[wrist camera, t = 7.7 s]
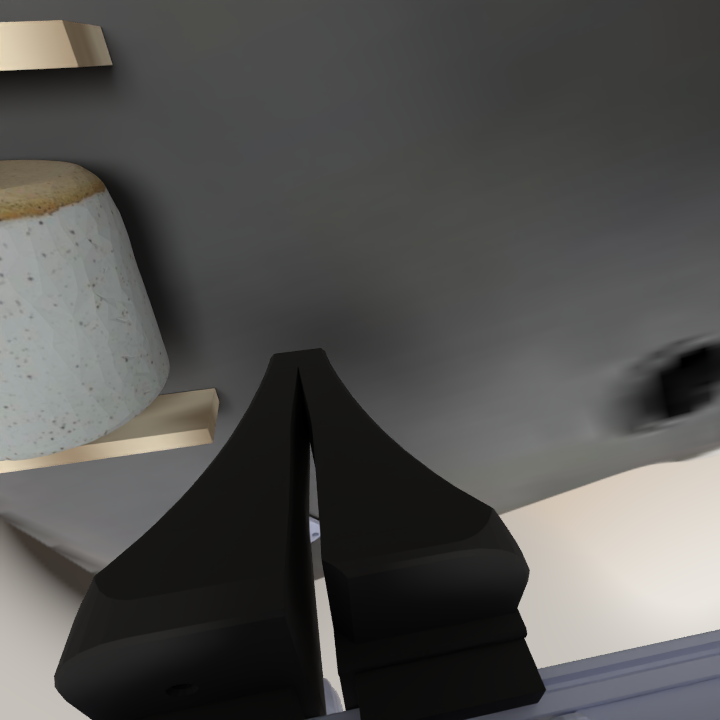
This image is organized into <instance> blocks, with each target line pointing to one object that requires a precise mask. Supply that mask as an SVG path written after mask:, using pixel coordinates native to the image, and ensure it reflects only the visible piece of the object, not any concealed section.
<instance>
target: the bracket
mask: <svg viewBox="0 0 720 720" xmlns="http://www.w3.org/2000/svg"><path fill="white" fill-rule="evenodd" d="M104 65H112V61H111V58H110V55H109V52H108V49H107V46H106V42H105V39H104V36H103V33H102V30H101V27H100V26H94V25H88V24H82V23H76V22H69V21H63V20H56V21H28V22H0V71H6V70H28V69H49V68H70V67H88V66H104ZM218 408H219V399H218V396H217V393H216V390H215V388H212V389H204V390H196V391H189V392H181V393H173V394H165V395H158V396H157V398H156V399H155V400H154V401H153V402H152V403H151V404H150V405H149V406H148V407H147V408H146V409H145V410H144V411H143V412H142V413H140V414H139V415H138V416H136V417H135V418H133V419H132V420H130V421H129V422H127V423H126V424H124V425H123V426H121V427H119V428H118V429H116V430H115V431H113V432H111V433H109V434H107V435H106V436H103V437H101V438H99V439H96V440H94V441H92V442H90V443H87V444H84V445H81V446H78V447H75V448H72V449H68V450H65V451H62V452H59V453H55V454H52V455H47V456H42V457H37V458H32V459H26V460H17V461H10V460H5V461H0V473H5V472H12V471H19V470H26V469H33V468H40V467H47V466H54V465H61V464H68V463H75V462H82V461H89V460H97V459H104V458H111V457H118V456H125V455H132V454H139V453H146V452H153V451H160V450H167V449H174V448H181V447H188V446H195V445H202V444H209V443H213V438H214V432H215V426H216V420H217V414H218Z"/></svg>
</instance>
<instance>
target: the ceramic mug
mask: <svg viewBox="0 0 720 720" xmlns="http://www.w3.org/2000/svg"><path fill="white" fill-rule="evenodd" d="M169 368H170V364H169V359H168V355H167V352H166V349H165V346H164V343H163V340H162V337H161V334H160V331H159V328H158V325H157V322H156V319H155V316H154V313H153V310H152V307H151V304H150V301H149V298H148V295H147V292H146V289H145V287H144V284H143V281H142V278H141V275H140V272H139V269H138V267H137V264H136V261H135V257H134V254H133V250H132V247H131V244H130V240H129V237H128V234H127V231H126V228H125V226H124V223H123V220H122V218H121V215H120V212H119V211H118V209H117V207H116V205H115V203H114V202H113V200H112V198H111V196H110V194H109V192H108V190H107V188H106V187H105V185H104V183H103V182H102V181H101V180H100V179H99V178H98V177H97V176H96V175H95V174H93V173H92V172H90V171H88V170H87V169H85V168H83V167H81V166H80V165H77V164H73V163H69V162H62V161H48V160H2V161H0V461H5V460H10V461H17V460H26V459H32V458H37V457H42V456H47V455H52V454H55V453H59V452H62V451H65V450H68V449H72V448H75V447H78V446H81V445H84V444H87V443H90V442H92V441H94V440H96V439H99V438H101V437H103V436H106V435H107V434H109V433H111V432H113V431H115V430H116V429H118V428H119V427H121V426H123V425H124V424H126V423H127V422H129V421H130V420H132V419H133V418H135V417H136V416H138V415H139V414H140V413H142V412H143V411H144V410H145V409H146V408H147V407H148V406H149V405H150V404H151V403H152V402H153V401H154V400H155V399H156V398H157V396H158V395H159V394H160V392H161V391H162V389H163V388H164V386H165V383H166V381H167V379H168V374H169Z"/></svg>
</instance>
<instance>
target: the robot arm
mask: <svg viewBox="0 0 720 720" xmlns="http://www.w3.org/2000/svg"><path fill="white" fill-rule="evenodd" d="M310 444H311V449H312V454H313V459H314V464H315V468H316V481H317V495H318V509H319V521H318V520H316V519H314V518H312V517H310V516H309V480H310ZM319 537H320V540H321V558H322V565H323V570H324V576H325V582H326V588H327V593H328V599H329V605H330V611H331V616H332V622H333V628H334V638H335V647H336V658H337V666H338V667H337V668H338V675H339V676H340V682H341V687H342V692H343V698H344V703H345V708H346V711H343V709H342V705H341V701H340V698H339V696H338V694H337V692H336V691H335V690H334V688H333V687H332V686H331V684H330V682H329V681H328V680H327V679H325V678H323V672H322V662H321V651H320V641H319V630H318V619H317V609H316V598H315V588H314V587H315V586H314V575H313V563H312V552H311V542H313V541H314V540H316V539H317V538H319ZM529 571H530V570H529V567H528V565H527V563H526V560H525V558H524V556H523V554H522V552H521V550H520V548H519V546H518V544H517V543H516V541H515V539H514V538H513V536H512V535H511V533H510V532H509V530H508V529H507V527H506V526H505V524H504V523H503V521H502V520H501V518H500V517H499V516H498V514H497V513H496V511H495V510H494V509H493V508H492V507H490V506H488V505H486V504H485V503H483V502H481V501H479V500H478V499H476V498H474V497H472V496H471V495H469V494H467V493H465V492H464V491H462V490H460V489H458V488H457V487H455V486H453V485H452V484H450V483H449V482H447V481H446V480H444V479H443V478H442V477H440V476H439V475H437V474H436V473H434V472H433V471H431V470H430V469H429V468H427V467H426V466H425V465H424V464H422V463H421V462H420V461H418V460H417V459H416V458H414V457H413V456H412V455H410V454H409V453H408V452H407V451H405V450H404V449H403V448H402V447H401V446H400V445H398V444H397V443H396V442H395V441H394V440H393V439H392V438H390V437H389V436H388V435H387V434H386V433H385V432H384V431H383V430H382V429H381V428H380V427H379V426H378V425H377V424H376V423H375V422H374V421H373V420H372V419H371V418H370V417H369V415H368V414H367V413H366V412H365V411H364V410H363V409H362V407H361V406H360V405H359V404H358V403H357V401H356V400H355V399H354V398H353V397H352V395H351V394H350V392H349V391H348V390H347V388H346V387H345V386H344V384H343V383H342V382H341V380H340V379H339V377H338V376H337V374H336V372H335V371H334V369H333V367H332V366H331V364H330V362H329V360H328V358H327V355H326V353H325V351H324V350H323V349H321V348H318V349H310V350H302V351H294V352H285V353H277V354H274V355H273V356H272V357H271V359H270V363H269V365H268V368H267V371H266V373H265V375H264V378H263V380H262V382H261V384H260V386H259V388H258V390H257V392H256V394H255V396H254V398H253V400H252V402H251V404H250V406H249V408H248V409H247V411H246V413H245V414H244V416H243V418H242V419H241V421H240V423H239V424H238V426H237V427H236V429H235V431H234V432H233V434H232V435H231V437H230V438H229V440H228V441H227V443H226V444H225V445H224V447H223V448H222V450H221V451H220V452H219V454H218V455H217V456H216V458H215V459H214V460H213V461H212V463H211V464H210V465H209V466H208V468H207V469H206V470H205V471H204V472H203V474H202V475H201V476H200V477H199V478H198V480H197V481H196V482H195V483H194V484H193V485H192V487H191V488H190V489H189V490H188V491H187V492H186V493H185V494H184V495H183V496H182V498H181V499H180V500H179V501H178V502H177V503H176V504H175V505H174V506H173V507H172V508H171V509H170V510H169V511H168V512H167V513H166V514H165V515H164V516H163V517H162V518H161V519H160V520H159V521H158V522H157V523H156V524H155V525H154V526H153V527H151V528H150V529H149V530H148V531H147V532H146V533H145V534H144V535H143V536H142V537H141V538H139V539H138V540H137V541H136V542H135V543H134V544H132V545H131V546H130V547H129V548H128V549H126V550H125V551H124V552H123V553H122V554H121V555H119V556H118V557H117V558H116V559H115V560H114V561H112V562H111V563H110V564H109V565H108V566H106V567H105V568H104V569H103V570H102V571H100V572H99V573H98V574H97V575H95V576H94V578H93V580H92V582H91V585H90V587H89V589H88V591H87V593H86V595H85V597H84V599H83V601H82V603H81V606H80V608H79V610H78V612H77V615H76V617H75V620H74V623H73V625H72V628H71V631H70V634H69V636H68V639H67V642H66V645H65V648H64V651H63V653H62V656H61V659H60V661H59V665H58V667H57V670H56V673H55V675H54V679H55V688H56V689H57V691H58V692H59V693H60V694H61V696H62V697H63V698H64V699H65V700H66V701H67V702H68V703H70V704H71V705H72V706H74V707H75V708H77V709H78V710H79V711H81V712H82V713H83V714H85V715H86V716H88V717H89V718H90V719H92V720H720V630H715V631H711V632H706V633H702V634H697V635H692V636H688V637H683V638H679V639H674V640H670V641H665V642H661V643H655V644H651V645H647V646H642V647H637V648H633V649H628V650H623V651H619V652H614V653H610V654H605V655H600V656H596V657H591V658H586V659H582V660H578V661H573V662H568V663H563V664H559V665H555V666H550V667H545V668H540V669H537V667H536V665H535V662H534V660H533V658H532V655H531V653H530V651H529V648H528V646H527V644H526V641H525V639H524V638H525V637H526V636H527V630H526V627H525V625H524V622H523V620H522V618H521V616H520V613H519V611H518V609H517V607H518V605H519V602H520V600H521V597H522V595H523V592H524V590H525V587H526V585H527V582H528V578H529Z"/></svg>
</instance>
